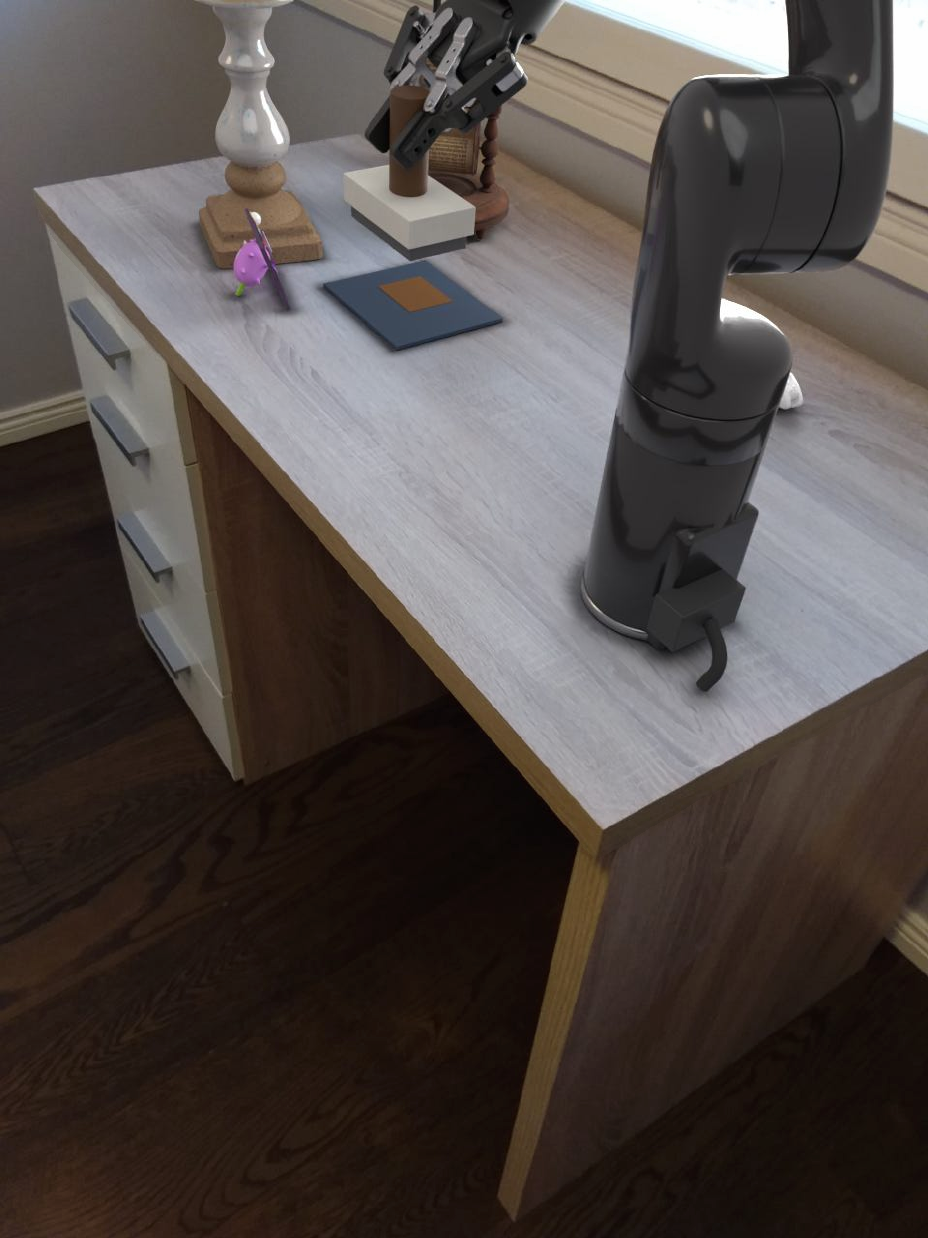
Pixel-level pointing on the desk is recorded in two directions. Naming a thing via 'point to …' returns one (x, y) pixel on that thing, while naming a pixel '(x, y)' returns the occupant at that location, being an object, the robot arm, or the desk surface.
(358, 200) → the stamp
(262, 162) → the candle holder
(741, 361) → the robot arm
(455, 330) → the mat
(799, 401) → the white rounded piece
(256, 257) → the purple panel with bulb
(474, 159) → the scroll
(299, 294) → the desk surface
